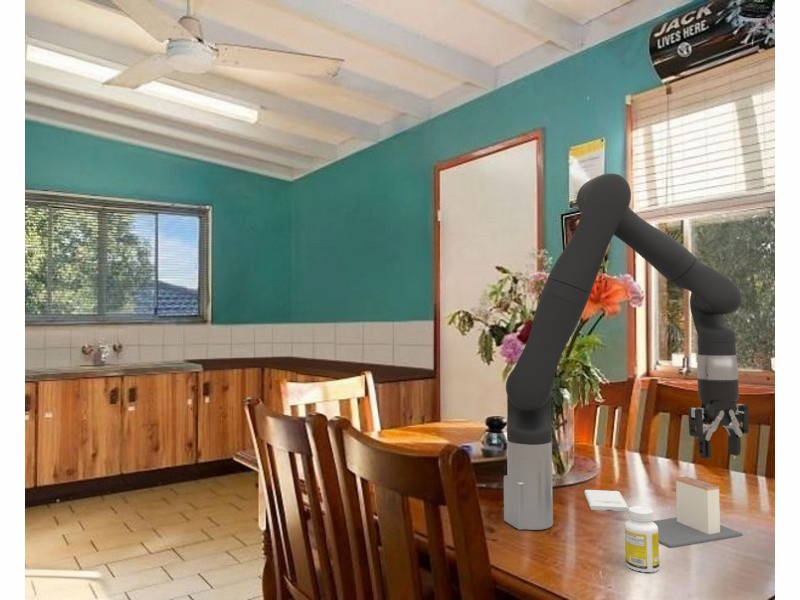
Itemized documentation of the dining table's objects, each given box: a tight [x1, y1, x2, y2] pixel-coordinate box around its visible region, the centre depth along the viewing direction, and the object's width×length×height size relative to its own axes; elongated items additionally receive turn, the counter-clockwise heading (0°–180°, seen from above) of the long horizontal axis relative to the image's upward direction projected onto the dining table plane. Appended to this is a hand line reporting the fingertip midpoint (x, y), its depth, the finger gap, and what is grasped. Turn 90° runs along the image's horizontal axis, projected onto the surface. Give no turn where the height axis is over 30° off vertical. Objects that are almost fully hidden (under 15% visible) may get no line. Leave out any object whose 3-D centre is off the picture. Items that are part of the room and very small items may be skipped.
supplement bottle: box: [624, 506, 660, 573], centre depth 103 cm, size 5×5×10 cm
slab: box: [675, 476, 721, 534], centre depth 122 cm, size 3×8×9 cm, turn 20°
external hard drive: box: [584, 489, 630, 513], centre depth 139 cm, size 2×8×12 cm
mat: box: [652, 516, 744, 549], centre depth 120 cm, size 18×12×1 cm, turn 110°
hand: (720, 456), depth 124 cm, fingers open, 7 cm apart
